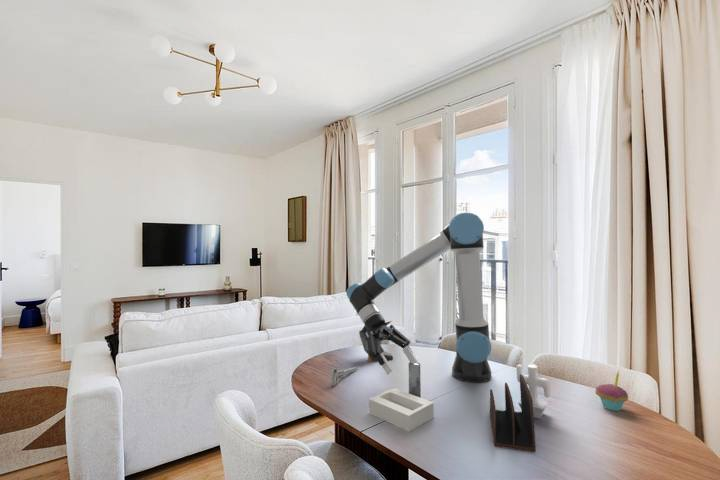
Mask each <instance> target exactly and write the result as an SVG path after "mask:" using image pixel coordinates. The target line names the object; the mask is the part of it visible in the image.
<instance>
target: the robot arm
mask: <svg viewBox="0 0 720 480" xmlns="http://www.w3.org/2000/svg"><path fill="white" fill-rule="evenodd" d="M484 230H485V227H484V223H483V221H482V219H481V217H479V215H477V214H476V213H474V212H470V211H463V212H458V213H457V214H455V215H454V216H453V217H452V218H451V220H450V221H449V224H448V225H446V226H445V227H444V228H442V229H441V230H440V233H439V234H438V235H436V236H434V237H433V238H431V239H430V240H428V241H427V242H426V243H425V242H424V243H423V244H422V245H420V246H419V247H417V248H416V249H414V250H413V251H411V252H409V253H408V254H405V256H403V257H401V258H400V259H399V260H397V261H395V262H394V263H392V264H390V265H389V266H388V267H386V268H385V267H381V268H380V269H378V270H377V271H375V273H374V274H372V275H371V276H370V277H369V278H368V279H367V280H366V281H365V282H363V283H360V282H356V283H353V284H351V285H350V286H349V287H347V290H346V292H345V294H346V296H347V298H348V300H349V302H350V304H351V305H352V307H353V309H354V310H355V311H356V313H357V315H358V317H359V318H360V319H361V322H362V323H363V324H364V326H365V327H366V328H367V330H368V331H367V332H366V333H365V337H366V339H367V344H368V351H369V356H370V357H371V358H372V357H373V359H377V360H376V361H377V363H378V364H379V366H381V367H382V369H383V371H384V372H385V374H386V375H389V374H391V372H392V371H393V368H392V367H391V365H390V362H388V361H389V360H386V358H385V357H384V355H383V353H382V354H381V355H380V350H381V347H382V342H383V341H390V342H392V343H393V344H395V345H397V346H399V347H400V348H402V352H403V353H404V355H405V356H406V358H407V360H408V361H409V363H410V362H418V359H417V358H416V356H415V354H414V352H413V351H412V348H411V347H410V346H409V345H410V344H411V340H410V339H408V338H407V337H406V336H405V335H404V334H402V333H401V332H400V331H399V330H398V329H397V328H396V327H395V326H394V325H393V324H390V325H389V326H388V325H387V326H386V325H385V323H386V320H385V318H384V316H383V315H382V314H381V312H380V310H379V309H378V308H377V306H376V305H375V303H374V300H375V299H376V298H378V297H379V296H380V295H381V294H383V293H384V292H385V291H386V290H387V289H389V288H391V287H392V286H393V285H395V284H397V283H398V282H400V281H401V280H403V279H405V278H406V277H408V276H410V275H412V274H413V273H414V272H416V271H417V270H419V269H421V268H422V267H424V266H426V265H427V264H429V263H430V262H432V261H434V260H435V259H437V258H439V257H440V256H442V255H444V254H445V253H447V252H448V251H450V250H451V251H452V252H453V253H454V255H455V268H456V269H455V270H456V271H455V272H456V285H457V286H456V289H457V302H458V303H457V305H458V317H457V318H456V319H455V326H454V327H455V351H456V352H455V357H454V362H453V364H452V367H451V374H452V376H453V377H454V378H455V379H458V380H460V381H463V382H471V383H482V382H487V381H489V380H491V379H492V370H491V367H490V364H489V360H488V358H489V356H490V355H491V353H492V343H491V341H490V331H489V329H490V328H489V323H488V321H487V320H486V319H485V317H484V308H483V307H484V305H483V290H482V289H483V288H482V275H481V274H482V273H481V271H482V270H481V257H480V253H481V252H482V250H484V235H483V234H484V232H485V231H484ZM389 334H390V335H389ZM373 337H375V340H373ZM374 342H375V346H374Z"/></svg>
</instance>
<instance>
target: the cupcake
mask: <svg viewBox="0 0 720 480" xmlns="http://www.w3.org/2000/svg"><path fill="white" fill-rule="evenodd" d="M619 377H620V372H619V370H618V371H617V372H616V373H615V382H614V384H613V383H608V384H607V383H606V384H600V385H598V386H597V387H595V392H594V393H595V394H596V395H597V397H599V398H600V399H599V400H600V401H601V403H602V406H603V408H605V409H607V410H610V411H614V412H615V411H617V412H619V411H621V410H622V408H623V405H624V403H625V402H627V401H628V400H629V395H628V393H627V391H626V390H625V389H623V388H622V387H620V386H618V384H619Z"/></svg>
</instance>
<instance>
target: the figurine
mask: <svg viewBox="0 0 720 480" xmlns="http://www.w3.org/2000/svg"><path fill="white" fill-rule="evenodd" d="M523 370H524V369H523V365H522V364H517V365H516V380H517V382H518V383H520V374H521V375H522V376H523V377H524V379H525V381H526V384H527V386H528V389H529V392H530V395H531V397H532V402H533V417H534V419H535V418H537V419H539V420H540V419H541V417H542V416H543V414H544V413H545V410H546V408H547V406H548V404H549V402H550V400H546V399H543V398H539V392H538V391H539V390H538V389H539V388H542V389H543V395H544V398H547V399H548V398H549V399H550V397H551V382H550V380H549V379H548V378H543V377H539V376H538V374H539V367H538V366H537V364H533V363H530V364H527V372H528V374H524V371H523ZM517 404H518V406H519V407H520V409H521V399H520V400H519V401H518V403H517Z"/></svg>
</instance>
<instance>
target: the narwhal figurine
mask: <svg viewBox="0 0 720 480" xmlns="http://www.w3.org/2000/svg"><path fill="white" fill-rule="evenodd" d="M390 323H392V320H390V321H388V322H386V321H385V325H386V326H387V327H388V325H389V324H390ZM367 331H368V330H367V328H366V327H365V325H364V326H363V327H362V328H361V330H359V333H358V335H359V338H360V341H361V343H362V344H361V345H362V348H363V350H364V352H365V353H366V354H367V361H369V362H373V361H377V359H373V357H372V358H371V357H370V356H369V351H368V344H367V339H366V337H365V333H366V332H367ZM389 336H390V334H389ZM373 340H375V337H373ZM374 346H375V342H374ZM382 353H383V355H384V357H385V358H386V360H387V361H392V360H394V356H393V354H392V353H390V352H387V351H385V350H384V348H383V347H382V346H381V350H380V355H381V354H382Z"/></svg>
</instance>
